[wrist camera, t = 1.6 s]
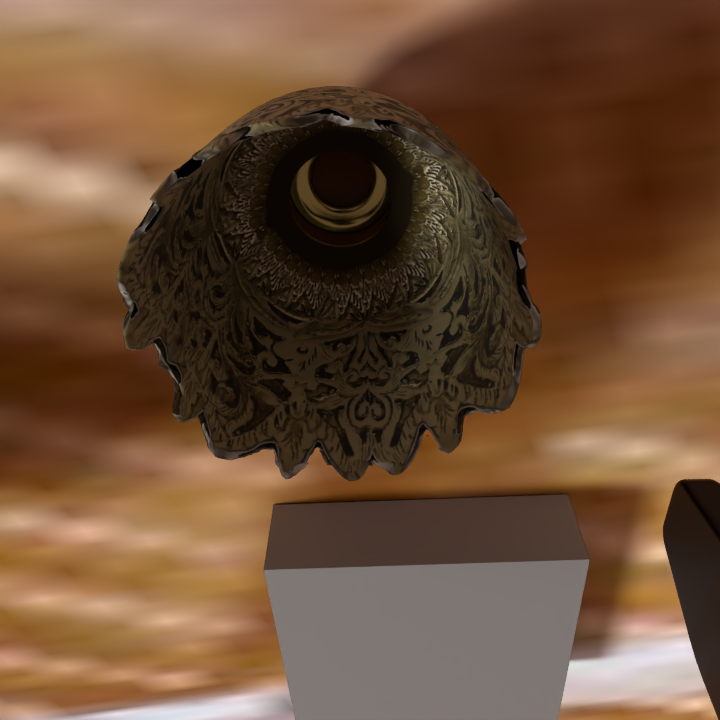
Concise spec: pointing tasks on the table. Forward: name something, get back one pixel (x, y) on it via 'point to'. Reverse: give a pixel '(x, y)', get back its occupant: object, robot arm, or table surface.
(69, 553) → the table surface
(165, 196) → the ornate bronze lamp shade
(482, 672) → the plinth
